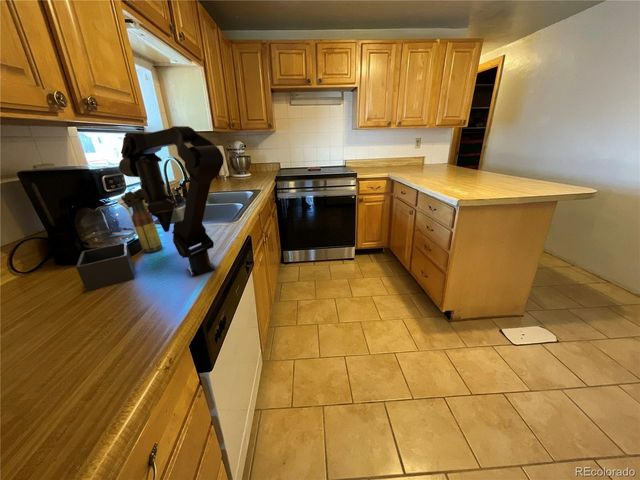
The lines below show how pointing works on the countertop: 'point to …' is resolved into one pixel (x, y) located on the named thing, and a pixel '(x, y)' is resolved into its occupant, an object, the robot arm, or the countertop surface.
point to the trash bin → (105, 266)
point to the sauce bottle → (145, 228)
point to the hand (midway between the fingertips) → (164, 227)
